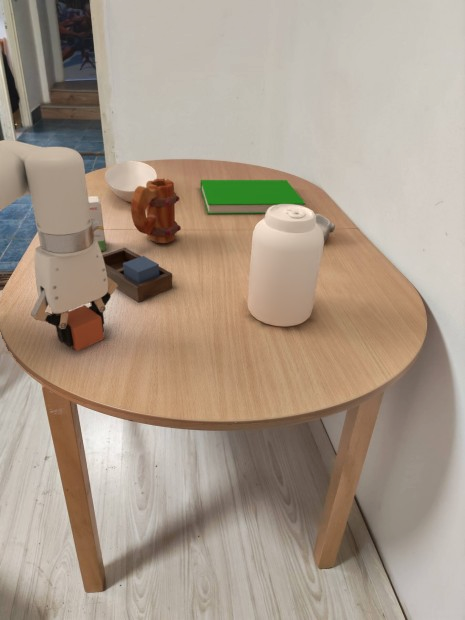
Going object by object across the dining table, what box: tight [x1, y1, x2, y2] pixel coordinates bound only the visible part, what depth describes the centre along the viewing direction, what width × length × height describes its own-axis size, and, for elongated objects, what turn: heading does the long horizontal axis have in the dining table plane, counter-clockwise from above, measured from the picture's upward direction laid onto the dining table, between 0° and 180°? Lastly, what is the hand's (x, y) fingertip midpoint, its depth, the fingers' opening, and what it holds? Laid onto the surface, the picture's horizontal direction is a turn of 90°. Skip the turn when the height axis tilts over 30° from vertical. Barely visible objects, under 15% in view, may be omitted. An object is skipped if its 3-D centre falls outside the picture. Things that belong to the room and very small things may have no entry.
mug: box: [130, 178, 182, 244], centre depth 106 cm, size 15×8×15 cm, turn 152°
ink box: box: [88, 195, 107, 252], centre depth 102 cm, size 8×5×12 cm, turn 109°
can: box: [246, 204, 325, 327], centre depth 82 cm, size 12×12×20 cm
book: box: [200, 179, 306, 215], centre depth 138 cm, size 22×28×3 cm
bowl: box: [104, 160, 158, 203], centre depth 136 cm, size 30×15×6 cm, turn 11°
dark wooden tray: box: [102, 247, 173, 303], centre depth 93 cm, size 8×16×3 cm, turn 46°
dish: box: [315, 213, 336, 243], centre depth 115 cm, size 14×14×5 cm
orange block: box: [67, 304, 105, 352], centre depth 76 cm, size 5×5×4 cm
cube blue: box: [123, 255, 160, 284], centre depth 90 cm, size 5×5×4 cm
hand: (82, 335), depth 76 cm, fingers closed on orange block, 5 cm apart
